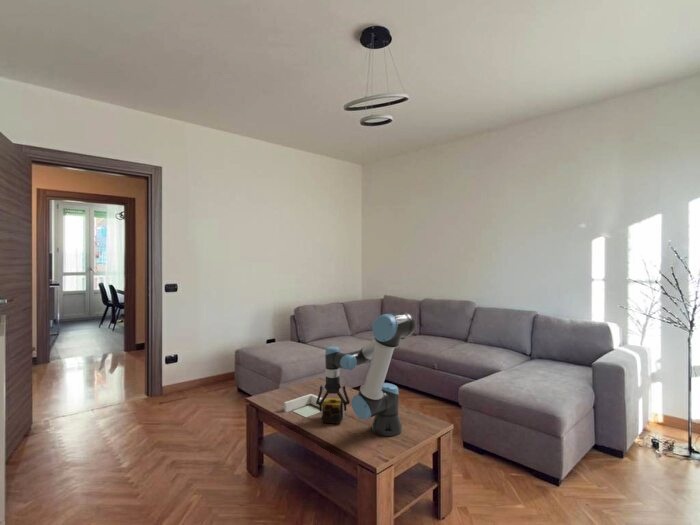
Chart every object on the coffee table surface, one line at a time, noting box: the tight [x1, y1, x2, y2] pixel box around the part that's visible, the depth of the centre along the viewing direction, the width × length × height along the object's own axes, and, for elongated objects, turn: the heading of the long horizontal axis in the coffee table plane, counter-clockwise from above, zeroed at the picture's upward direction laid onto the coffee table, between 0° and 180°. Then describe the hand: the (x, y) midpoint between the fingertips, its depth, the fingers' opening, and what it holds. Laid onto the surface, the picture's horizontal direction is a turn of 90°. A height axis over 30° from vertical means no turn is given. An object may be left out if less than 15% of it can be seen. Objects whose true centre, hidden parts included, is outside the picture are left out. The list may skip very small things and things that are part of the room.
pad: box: [292, 405, 322, 418], centre depth 218 cm, size 12×12×1 cm
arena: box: [283, 393, 325, 413], centre depth 219 cm, size 18×20×5 cm
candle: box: [321, 397, 343, 425], centre depth 206 cm, size 10×10×10 cm
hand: (333, 416), depth 206 cm, fingers closed on candle, 11 cm apart
